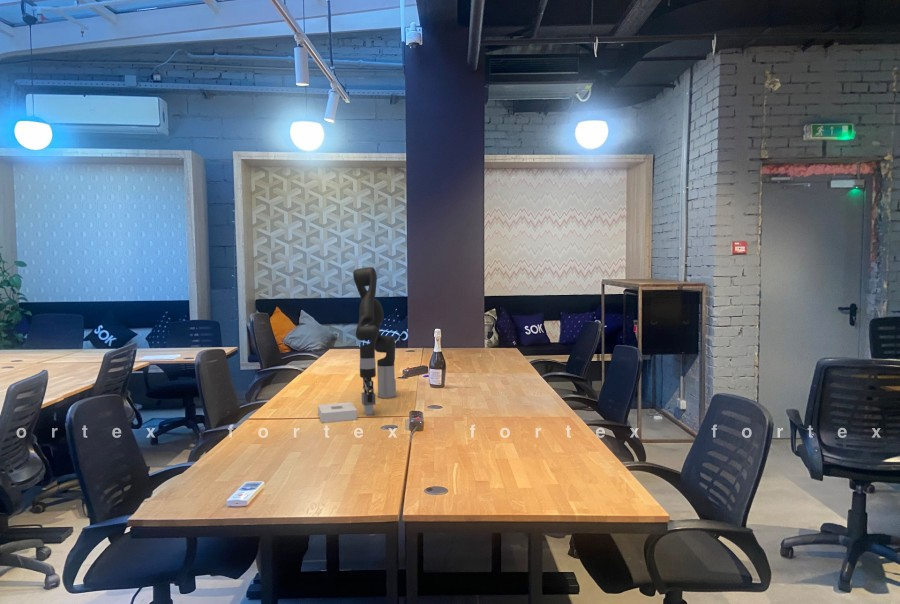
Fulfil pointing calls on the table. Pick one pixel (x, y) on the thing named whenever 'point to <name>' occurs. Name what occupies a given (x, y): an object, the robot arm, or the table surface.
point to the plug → (368, 404)
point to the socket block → (337, 412)
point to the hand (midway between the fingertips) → (368, 400)
